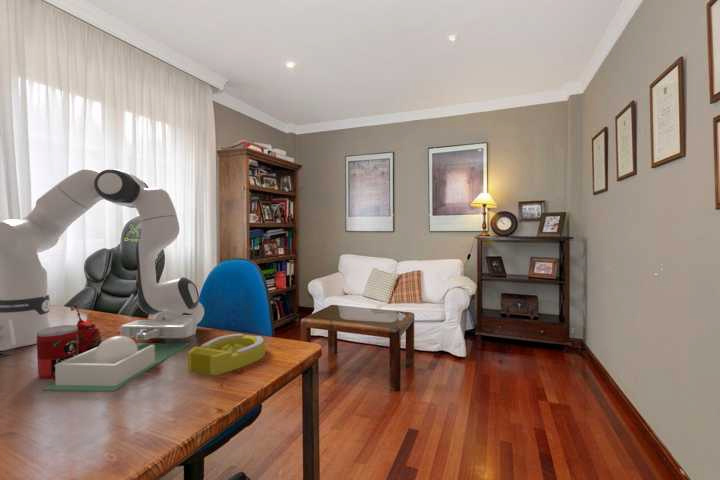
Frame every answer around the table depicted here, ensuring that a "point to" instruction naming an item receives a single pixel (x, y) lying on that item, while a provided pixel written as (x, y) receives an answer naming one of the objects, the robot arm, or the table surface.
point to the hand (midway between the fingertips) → (140, 337)
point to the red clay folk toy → (87, 334)
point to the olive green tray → (226, 354)
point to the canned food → (55, 348)
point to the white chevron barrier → (102, 368)
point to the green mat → (160, 354)
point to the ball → (114, 350)
